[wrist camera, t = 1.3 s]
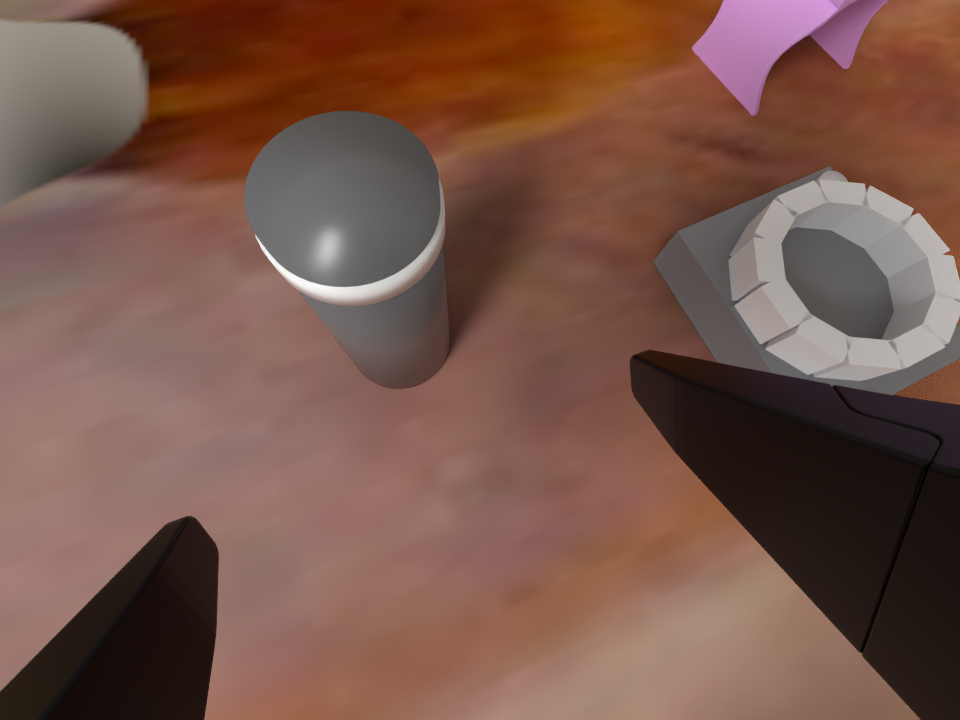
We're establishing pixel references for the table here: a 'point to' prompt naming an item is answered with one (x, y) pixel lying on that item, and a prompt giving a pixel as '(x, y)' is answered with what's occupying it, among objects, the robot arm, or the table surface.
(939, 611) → the robot arm
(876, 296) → the ringed square flange
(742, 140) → the table surface
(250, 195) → the grey domed cylinder
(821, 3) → the toy chair
